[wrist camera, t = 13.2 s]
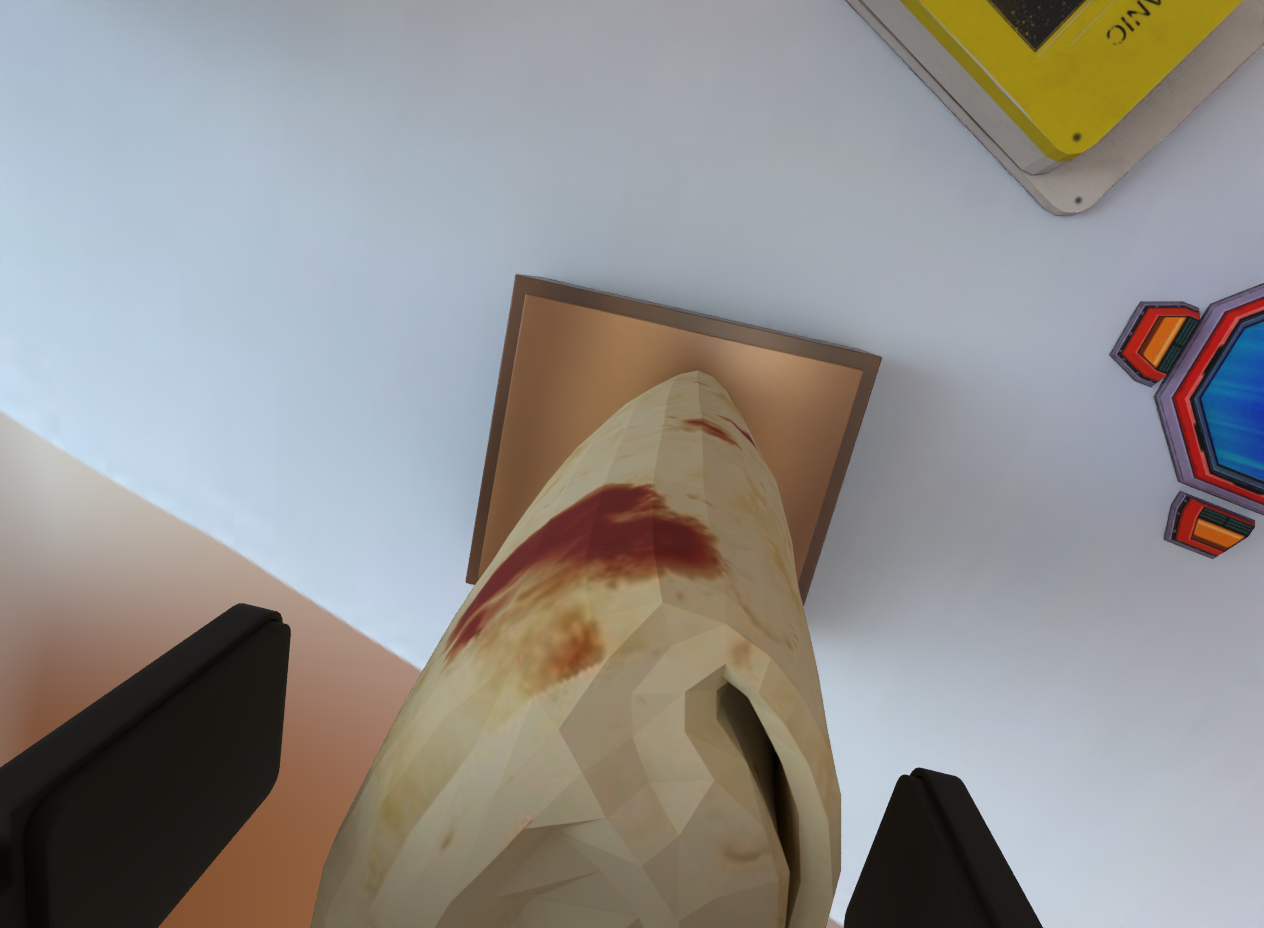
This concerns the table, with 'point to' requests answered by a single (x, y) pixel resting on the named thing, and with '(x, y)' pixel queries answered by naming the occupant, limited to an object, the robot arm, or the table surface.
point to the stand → (643, 358)
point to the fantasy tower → (1206, 408)
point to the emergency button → (1070, 77)
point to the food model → (613, 709)
